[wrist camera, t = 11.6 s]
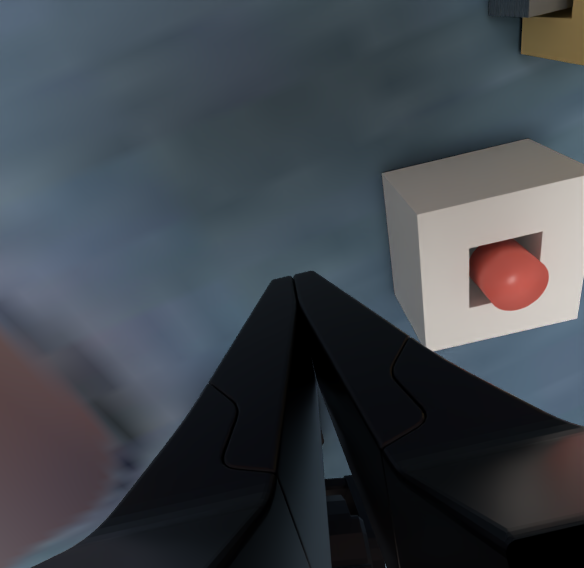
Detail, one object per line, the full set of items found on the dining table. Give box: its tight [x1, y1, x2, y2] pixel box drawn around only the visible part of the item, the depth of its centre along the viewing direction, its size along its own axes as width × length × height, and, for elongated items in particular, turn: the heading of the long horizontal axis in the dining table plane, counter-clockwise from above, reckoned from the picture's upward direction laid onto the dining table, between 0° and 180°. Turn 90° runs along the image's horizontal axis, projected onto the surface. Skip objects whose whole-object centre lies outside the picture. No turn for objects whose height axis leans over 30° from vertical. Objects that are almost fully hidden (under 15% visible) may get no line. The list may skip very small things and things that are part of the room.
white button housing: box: [382, 139, 584, 351], centre depth 21 cm, size 7×7×5 cm
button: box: [469, 239, 549, 311], centre depth 19 cm, size 2×2×2 cm
